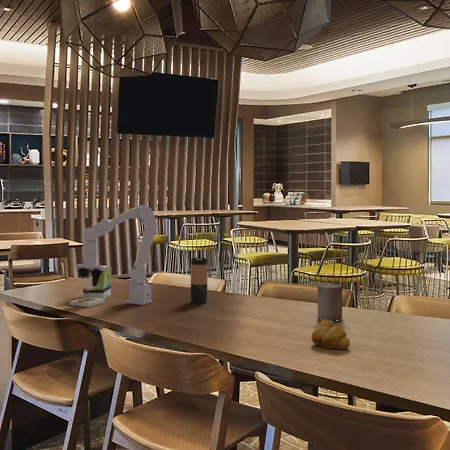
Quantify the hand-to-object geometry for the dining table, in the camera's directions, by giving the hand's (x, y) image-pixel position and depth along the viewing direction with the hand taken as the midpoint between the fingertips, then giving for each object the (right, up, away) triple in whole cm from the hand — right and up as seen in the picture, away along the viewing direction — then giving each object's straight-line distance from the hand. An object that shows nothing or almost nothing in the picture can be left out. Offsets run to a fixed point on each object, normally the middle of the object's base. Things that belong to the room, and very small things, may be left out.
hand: (90, 285), depth 248 cm
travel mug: (+47, -9, +9) cm, 49 cm away
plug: (0, -2, 0) cm, 2 cm away
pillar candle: (+101, -11, -25) cm, 104 cm away
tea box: (-1, -8, +19) cm, 21 cm away
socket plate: (-2, -8, +2) cm, 9 cm away
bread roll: (+93, -13, -66) cm, 115 cm away
